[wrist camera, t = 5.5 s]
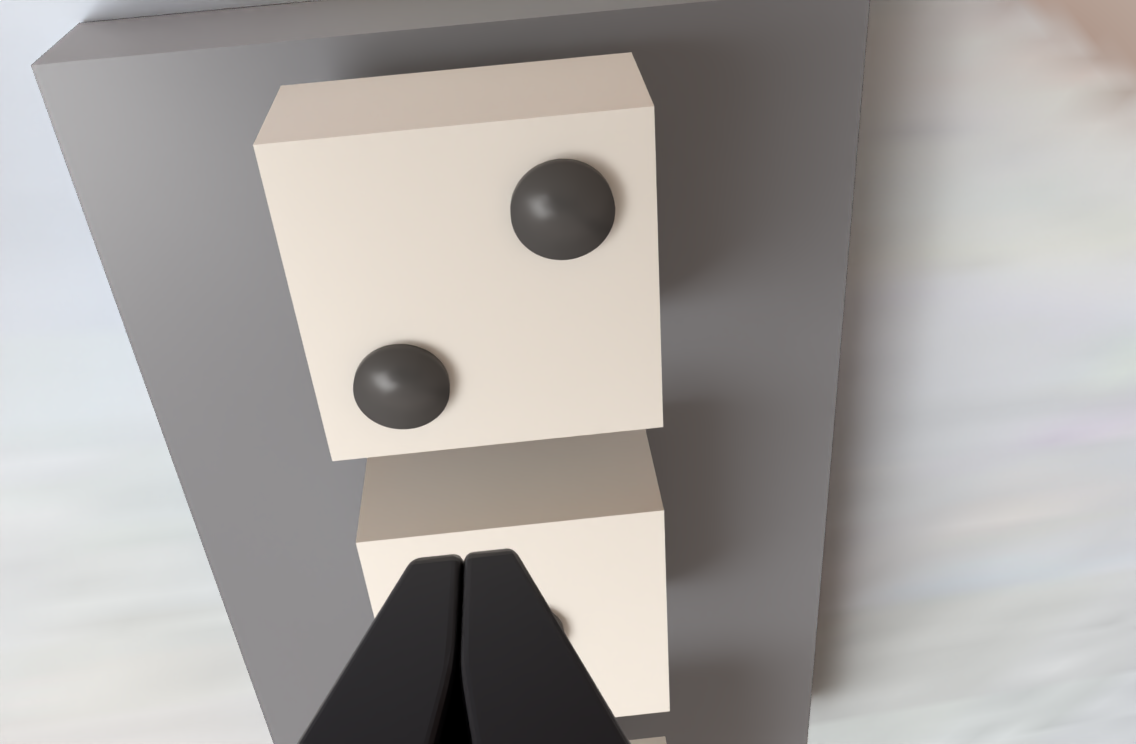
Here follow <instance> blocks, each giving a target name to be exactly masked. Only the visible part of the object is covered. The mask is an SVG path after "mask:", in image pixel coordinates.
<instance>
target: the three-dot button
mask: <svg viewBox="0 0 1136 744" xmlns="http://www.w3.org/2000/svg"><path fill="white" fill-rule="evenodd" d="M629 741H630V743H631V744H667V743H666V738H665V736H662V737H653V738H644V739H635V740H629Z"/></svg>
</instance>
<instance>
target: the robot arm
mask: <svg viewBox="0 0 1136 744" xmlns="http://www.w3.org/2000/svg"><path fill="white" fill-rule="evenodd" d="M297 744H631V743H630V741H629V739H628V738H627V736H626V734H625V733H624V731H623V729H622V728H621V726H620V724H619V723H618V721H617V719H616V718H615V716H614V714H613V713H612V711H611V709H610V708H609V706H608V704H607V703H606V701H605V699H604V698H603V696H602V694H601V693H600V691H599V689H598V688H597V686H596V684H595V683H594V681H593V679H592V678H591V676H590V674H589V672H588V671H587V669H586V667H585V666H584V664H583V662H582V661H581V659H580V657H579V656H578V654H577V652H576V651H575V649H574V647H573V646H572V644H571V642H570V641H569V639H568V637H567V636H566V634H565V632H564V631H563V629H562V627H561V626H560V624H559V622H558V621H557V619H556V617H555V616H554V614H553V612H552V611H551V609H550V607H549V606H548V604H547V602H546V600H545V599H544V597H543V595H542V594H541V592H540V590H539V589H538V587H537V585H536V584H535V582H534V580H533V579H532V577H531V575H530V574H529V572H528V570H527V569H526V567H525V565H524V564H523V562H522V560H521V559H520V557H519V555H518V554H517V553H516V552H515V551H514V550H512V549H509V548H505V549H496V550H486V551H477V552H471V553H469V554H468V555H466V557H465V559H464V560H463V559H462V558H461V557H460V556H459V555H457V554H449V555H440V556H431V557H421V558H416V559H414V560H413V561H411V562H410V563H409V564H408V566H407V567H406V569H405V571H404V572H403V574H402V575H401V577H400V579H399V580H398V582H397V583H396V585H395V587H394V588H393V590H392V591H391V593H390V595H389V596H388V598H387V600H386V601H385V603H384V604H383V606H382V608H381V609H380V611H379V612H378V614H377V616H376V617H375V619H374V620H373V622H372V624H371V625H370V627H369V628H368V630H367V632H366V633H365V635H364V636H363V638H362V640H361V641H360V643H359V645H358V646H357V648H356V649H355V651H354V653H353V654H352V656H351V657H350V659H349V661H348V662H347V664H346V665H345V667H344V669H343V670H342V672H341V673H340V675H339V677H338V678H337V680H336V682H335V683H334V685H333V686H332V688H331V690H330V691H329V693H328V694H327V696H326V698H325V699H324V701H323V702H322V704H321V706H320V707H319V709H318V710H317V712H316V714H315V715H314V717H313V718H312V720H311V722H310V723H309V725H308V727H307V728H306V730H305V731H304V733H303V735H302V736H301V738H300V739H299V741H298V743H297Z"/></svg>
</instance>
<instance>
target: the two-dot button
mask: <svg viewBox="0 0 1136 744" xmlns="http://www.w3.org/2000/svg"><path fill="white" fill-rule="evenodd" d="M253 147H254V151H255V155H256V159H257V163H258V167H259V171H260V175H261V179H262V183H263V187H264V191H265V195H266V199H267V203H268V207H269V211H270V215H271V219H272V223H273V227H274V231H275V235H276V239H277V243H278V247H279V251H280V255H281V259H282V263H283V267H284V271H285V275H286V279H287V283H288V287H289V291H290V294H291V298H292V302H293V306H294V310H295V314H296V318H297V322H298V326H299V330H300V334H301V338H302V342H303V346H304V350H305V354H306V358H307V362H308V366H309V370H310V374H311V378H312V382H313V386H314V390H315V394H316V398H317V402H318V406H319V410H320V414H321V418H322V422H323V426H324V430H325V434H326V438H327V442H328V446H329V450H330V454H331V458H332V461H340V460H350V459H359V458H369V457H379V456H388V455H398V454H408V453H417V452H427V451H437V450H446V449H456V448H466V447H475V446H485V445H495V444H504V443H514V442H524V441H533V440H543V439H552V438H562V437H572V436H581V435H591V434H601V433H610V432H620V431H630V430H639V429H649V428H659V427H663V402H662V366H661V330H660V294H659V258H658V222H657V186H656V150H655V114H654V104H653V102H652V100H651V97H650V95H649V93H648V90H647V88H646V85H645V83H644V81H643V78H642V76H641V74H640V71H639V69H638V66H637V64H636V62H635V59H634V57H633V55H632V52H628V53H618V54H608V55H597V56H587V57H576V58H566V59H555V60H545V61H534V62H524V63H513V64H503V65H492V66H482V67H471V68H461V69H450V70H440V71H429V72H419V73H408V74H398V75H388V76H377V77H367V78H356V79H346V80H335V81H325V82H314V83H304V84H293V85H283V86H281V87H280V89H279V91H278V93H277V95H276V97H275V99H274V101H273V104H272V106H271V108H270V110H269V112H268V114H267V116H266V118H265V121H264V123H263V125H262V127H261V129H260V131H259V133H258V135H257V138H256V140H255V142H254V144H253Z"/></svg>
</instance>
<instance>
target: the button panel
mask: <svg viewBox="0 0 1136 744" xmlns="http://www.w3.org/2000/svg"><path fill="white" fill-rule="evenodd" d="M869 5H870V0H319V1H309V2H298V3H287V4H277V5H266V6H255V7H245V8H234V9H223V10H213V11H202V12H191V13H181V14H170V15H159V16H149V17H138V18H127V19H117V20H106V21H95V22H85V23H79V24H77V25H76V26H75V27H74V28H73V29H72V30H71V31H69V32H68V33H67V34H66V35H65V36H64V37H63V38H61V39H60V40H59V41H58V42H57V43H56V44H55V45H53V46H52V47H51V48H50V49H49V50H48V51H47V52H45V53H44V54H43V55H42V56H41V57H40V58H39V59H37V60H36V61H35V62H34V63H33V64H32V65H31V67H32V70H33V73H34V75H35V78H36V81H37V84H38V87H39V89H40V92H41V95H42V98H43V100H44V103H45V106H46V109H47V112H48V114H49V117H50V120H51V123H52V126H53V128H54V131H55V134H56V137H57V140H58V142H59V145H60V148H61V151H62V154H63V156H64V159H65V162H66V165H67V168H68V170H69V173H70V176H71V179H72V181H73V184H74V187H75V190H76V193H77V195H78V198H79V201H80V204H81V207H82V209H83V212H84V215H85V218H86V221H87V223H88V226H89V229H90V232H91V235H92V237H93V240H94V243H95V246H96V248H97V251H98V254H99V257H100V260H101V262H102V265H103V268H104V271H105V274H106V276H107V279H108V282H109V285H110V288H111V290H112V293H113V296H114V299H115V302H116V304H117V307H118V310H119V313H120V316H121V318H122V321H123V324H124V327H125V329H126V332H127V335H128V338H129V341H130V343H131V346H132V349H133V352H134V355H135V357H136V360H137V363H138V366H139V369H140V371H141V374H142V377H143V380H144V383H145V385H146V388H147V391H148V394H149V397H150V399H151V402H152V405H153V408H154V410H155V413H156V416H157V419H158V422H159V424H160V427H161V430H162V433H163V436H164V438H165V441H166V444H167V447H168V450H169V452H170V455H171V458H172V461H173V464H174V466H175V469H176V472H177V475H178V478H179V480H180V483H181V486H182V489H183V491H184V494H185V497H186V500H187V503H188V505H189V508H190V511H191V514H192V517H193V519H194V522H195V525H196V528H197V531H198V533H199V536H200V539H201V542H202V545H203V547H204V550H205V553H206V556H207V558H208V561H209V564H210V567H211V570H212V572H213V575H214V578H215V581H216V584H217V586H218V589H219V592H220V595H221V598H222V600H223V603H224V606H225V609H226V612H227V614H228V617H229V620H230V623H231V626H232V628H233V631H234V634H235V637H236V639H237V642H238V645H239V648H240V651H241V653H242V656H243V659H244V662H245V665H246V667H247V670H248V673H249V676H250V679H251V681H252V684H253V687H254V690H255V693H256V695H257V698H258V701H259V704H260V707H261V709H262V712H263V715H264V718H265V720H266V723H267V726H268V729H269V732H270V734H271V737H272V740H273V743H274V744H297V743H298V741H299V739H300V738H301V736H302V735H303V733H304V731H305V730H306V728H307V727H308V725H309V723H310V722H311V720H312V718H313V717H314V715H315V714H316V712H317V710H318V709H319V707H320V706H321V704H322V702H323V701H324V699H325V698H326V696H327V694H328V693H329V691H330V690H331V688H332V686H333V685H334V683H335V682H336V680H337V678H338V677H339V675H340V673H341V672H342V670H343V669H344V667H345V665H346V664H347V662H348V661H349V659H350V657H351V656H352V654H353V653H354V651H355V649H356V648H357V646H358V645H359V643H360V641H361V640H362V638H363V636H364V635H365V633H366V632H367V630H368V628H369V627H370V625H371V624H372V622H373V620H374V619H375V618H374V614H373V610H372V606H371V602H370V598H369V594H368V590H367V586H366V582H365V578H364V574H363V570H362V566H361V562H360V558H359V554H358V550H357V546H356V537H357V530H358V522H359V515H360V508H361V500H362V493H363V486H364V478H365V471H366V464H367V458H359V459H350V460H340V461H332V458H331V454H330V450H329V446H328V442H327V438H326V434H325V430H324V426H323V422H322V418H321V414H320V410H319V406H318V402H317V398H316V394H315V390H314V386H313V382H312V378H311V374H310V370H309V366H308V362H307V358H306V354H305V350H304V346H303V342H302V338H301V334H300V330H299V326H298V322H297V318H296V314H295V310H294V306H293V302H292V298H291V294H290V291H289V287H288V283H287V279H286V275H285V271H284V267H283V263H282V259H281V255H280V251H279V247H278V243H277V239H276V235H275V231H274V227H273V223H272V219H271V215H270V211H269V207H268V203H267V199H266V195H265V191H264V187H263V183H262V179H261V175H260V171H259V167H258V163H257V159H256V155H255V151H254V147H253V144H254V142H255V140H256V138H257V135H258V133H259V131H260V129H261V127H262V125H263V123H264V121H265V118H266V116H267V114H268V112H269V110H270V108H271V106H272V104H273V101H274V99H275V97H276V95H277V93H278V91H279V89H280V87H281V86H283V85H293V84H304V83H314V82H325V81H335V80H346V79H356V78H367V77H377V76H388V75H398V74H408V73H419V72H429V71H440V70H450V69H461V68H471V67H482V66H492V65H503V64H513V63H524V62H534V61H545V60H555V59H566V58H576V57H587V56H597V55H608V54H618V53H628V52H632V55H633V57H634V59H635V62H636V64H637V66H638V69H639V71H640V74H641V76H642V78H643V81H644V83H645V85H646V88H647V90H648V93H649V95H650V97H651V100H652V102H653V104H654V114H655V150H656V186H657V222H658V258H659V294H660V330H661V366H662V402H663V427H659V428H649V429H646V434H647V438H648V443H649V447H650V451H651V456H652V460H653V464H654V469H655V473H656V477H657V482H658V486H659V491H660V495H661V499H662V504H663V508H664V527H665V562H666V596H667V631H668V666H669V701H670V711H668V712H658V713H649V714H640V715H631V716H622V717H615V718H616V719H617V721H618V723H619V724H620V726H621V728H622V729H623V731H624V733H625V734H626V736H627V738H628V739H629V740H635V739H644V738H653V737H662V736H665V738H666V743H667V744H807V740H808V728H809V716H810V704H811V692H812V680H813V669H814V657H815V645H816V633H817V621H818V609H819V598H820V586H821V574H822V562H823V550H824V538H825V526H826V515H827V503H828V491H829V479H830V467H831V455H832V443H833V432H834V420H835V408H836V396H837V384H838V372H839V360H840V349H841V337H842V325H843V313H844V301H845V289H846V278H847V266H848V254H849V242H850V230H851V218H852V206H853V195H854V183H855V171H856V159H857V147H858V135H859V123H860V112H861V100H862V88H863V76H864V64H865V52H866V41H867V29H868V17H869Z"/></svg>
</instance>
